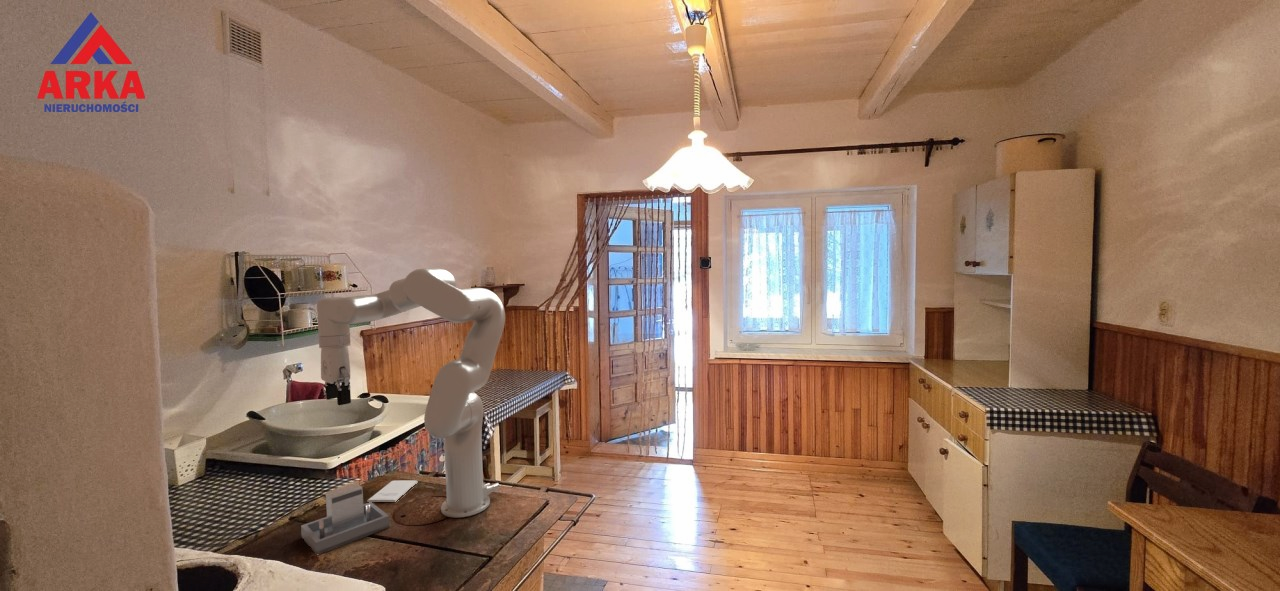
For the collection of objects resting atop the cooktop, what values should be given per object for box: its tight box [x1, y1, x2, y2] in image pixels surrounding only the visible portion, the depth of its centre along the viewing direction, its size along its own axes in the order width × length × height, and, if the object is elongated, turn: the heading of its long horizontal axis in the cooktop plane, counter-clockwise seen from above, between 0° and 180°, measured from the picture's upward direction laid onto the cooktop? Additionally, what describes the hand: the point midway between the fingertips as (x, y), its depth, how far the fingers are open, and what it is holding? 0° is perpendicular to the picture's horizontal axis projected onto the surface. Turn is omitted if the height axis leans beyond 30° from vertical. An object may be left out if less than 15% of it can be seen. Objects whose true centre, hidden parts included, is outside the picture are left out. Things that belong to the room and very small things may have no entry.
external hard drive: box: [366, 479, 418, 503], centre depth 146 cm, size 2×8×12 cm
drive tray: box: [300, 502, 391, 556], centre depth 124 cm, size 16×12×5 cm
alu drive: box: [325, 482, 364, 535], centre depth 124 cm, size 7×4×10 cm, turn 138°
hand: (338, 401), depth 141 cm, fingers open, 9 cm apart
